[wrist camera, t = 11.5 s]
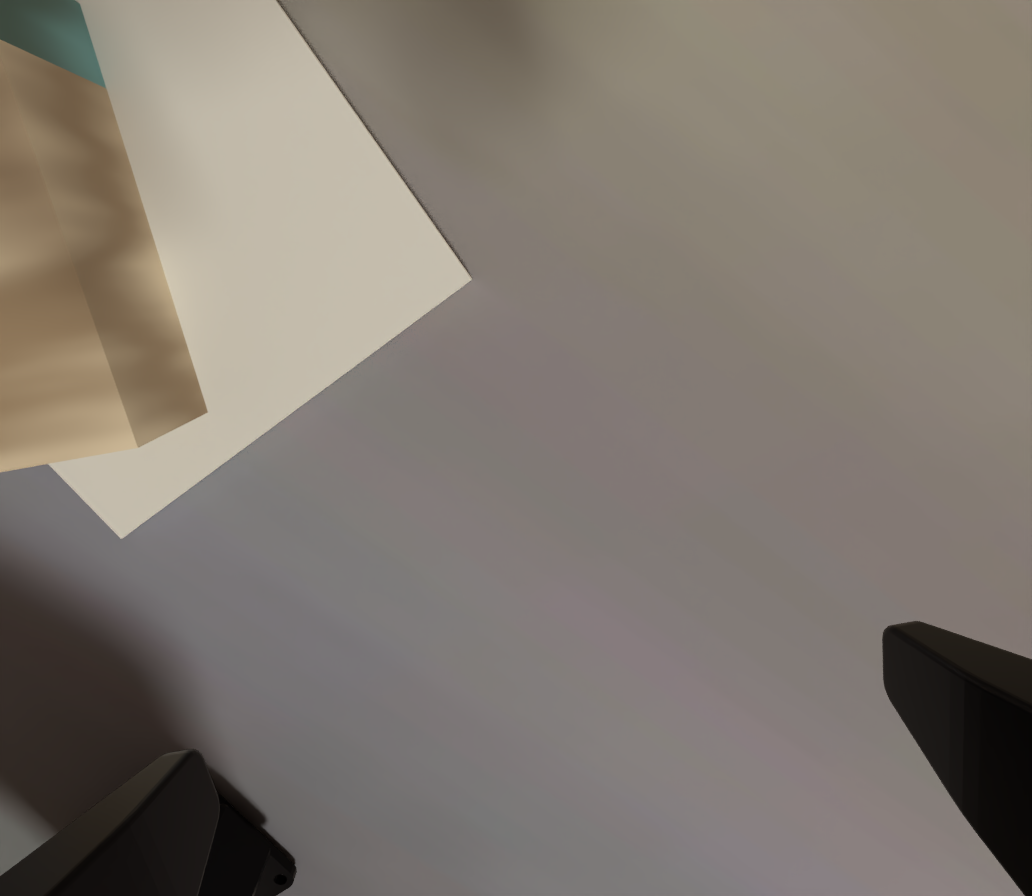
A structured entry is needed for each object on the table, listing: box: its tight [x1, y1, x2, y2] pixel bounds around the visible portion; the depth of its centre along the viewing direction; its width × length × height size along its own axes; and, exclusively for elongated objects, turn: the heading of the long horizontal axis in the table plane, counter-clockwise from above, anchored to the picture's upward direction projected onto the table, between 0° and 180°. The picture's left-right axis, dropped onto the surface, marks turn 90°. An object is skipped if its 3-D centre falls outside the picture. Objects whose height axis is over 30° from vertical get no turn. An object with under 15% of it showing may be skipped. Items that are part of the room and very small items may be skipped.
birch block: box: [0, 0, 208, 472], centre depth 16 cm, size 4×4×11 cm
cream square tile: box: [49, 0, 472, 539], centre depth 18 cm, size 14×15×1 cm
